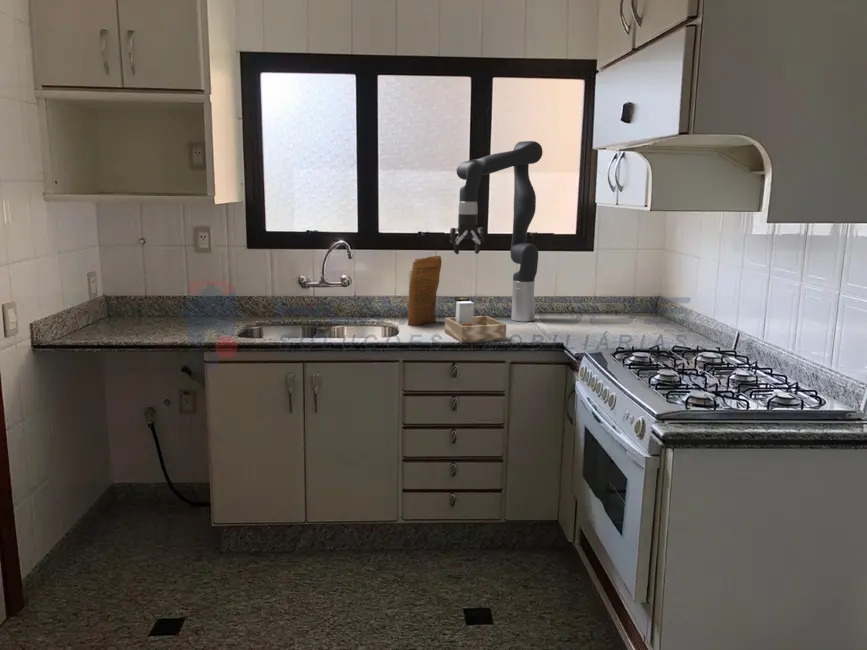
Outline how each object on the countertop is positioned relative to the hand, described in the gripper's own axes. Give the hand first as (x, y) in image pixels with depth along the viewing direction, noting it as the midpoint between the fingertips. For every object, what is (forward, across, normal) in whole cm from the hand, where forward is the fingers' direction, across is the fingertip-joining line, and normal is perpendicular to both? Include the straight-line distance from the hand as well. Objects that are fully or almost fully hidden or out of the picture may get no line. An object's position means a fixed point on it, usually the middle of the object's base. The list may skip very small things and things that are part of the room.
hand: (466, 253), depth 291 cm
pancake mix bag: (+30, +14, -11) cm, 35 cm away
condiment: (+30, +2, 0) cm, 30 cm away
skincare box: (+29, +6, +15) cm, 33 cm away
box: (+30, +3, +18) cm, 35 cm away
